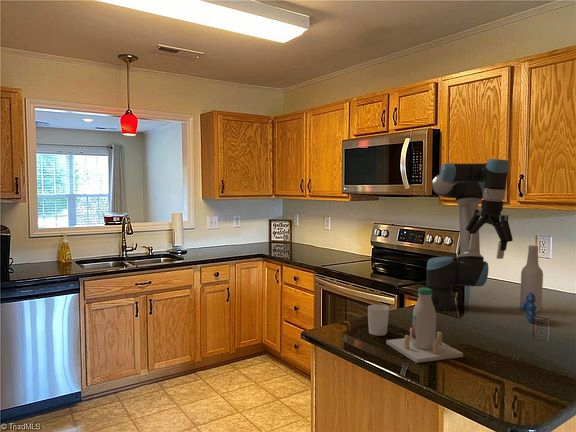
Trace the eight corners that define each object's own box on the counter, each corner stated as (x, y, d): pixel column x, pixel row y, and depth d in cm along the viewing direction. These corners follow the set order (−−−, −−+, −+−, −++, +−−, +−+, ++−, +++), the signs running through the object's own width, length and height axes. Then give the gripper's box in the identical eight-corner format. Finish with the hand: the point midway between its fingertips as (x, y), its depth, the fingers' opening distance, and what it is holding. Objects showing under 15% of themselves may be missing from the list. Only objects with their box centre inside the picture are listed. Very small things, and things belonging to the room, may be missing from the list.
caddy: (386, 343, 153) (386, 328, 153) (428, 338, 159) (429, 324, 159) (416, 362, 136) (417, 345, 136) (462, 356, 142) (463, 340, 142)
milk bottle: (439, 346, 148) (441, 288, 147) (429, 352, 142) (431, 292, 141) (418, 340, 153) (419, 285, 152) (407, 346, 148) (409, 288, 146)
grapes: (517, 316, 190) (518, 289, 189) (534, 318, 187) (536, 291, 186) (519, 323, 179) (520, 295, 178) (538, 325, 176) (539, 296, 176)
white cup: (389, 331, 167) (390, 305, 166) (387, 337, 160) (387, 311, 159) (368, 328, 170) (369, 303, 169) (365, 334, 162) (366, 308, 162)
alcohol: (544, 310, 200) (547, 246, 198) (536, 313, 194) (539, 247, 193) (524, 306, 207) (527, 244, 205) (516, 309, 201) (519, 245, 200)
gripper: (461, 195, 174) (454, 246, 178) (513, 205, 151) (505, 263, 155) (475, 195, 177) (468, 245, 181) (528, 204, 154) (520, 262, 158)
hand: (485, 253), depth 168 cm, fingers open, 13 cm apart
